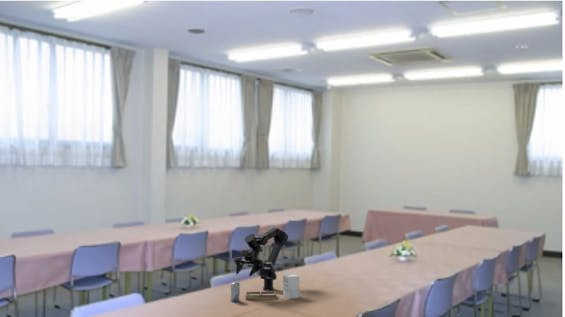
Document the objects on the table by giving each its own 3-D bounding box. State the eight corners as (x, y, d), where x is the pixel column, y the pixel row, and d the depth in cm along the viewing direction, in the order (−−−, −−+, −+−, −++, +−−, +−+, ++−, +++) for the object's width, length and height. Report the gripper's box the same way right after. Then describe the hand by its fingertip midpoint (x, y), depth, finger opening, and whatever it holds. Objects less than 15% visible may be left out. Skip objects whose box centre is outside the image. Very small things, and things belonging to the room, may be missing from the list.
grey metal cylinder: (230, 300, 288) (231, 282, 289) (239, 300, 289) (239, 282, 289) (230, 302, 284) (230, 283, 284) (239, 302, 284) (239, 283, 284)
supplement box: (293, 295, 300) (293, 273, 301) (299, 298, 294) (299, 275, 294) (282, 296, 297) (282, 274, 298) (288, 299, 290) (288, 277, 291)
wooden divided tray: (245, 296, 298) (245, 291, 298) (275, 295, 299) (275, 291, 299) (245, 299, 289) (245, 295, 289) (276, 299, 290) (276, 294, 290)
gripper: (235, 243, 303) (224, 264, 293) (262, 245, 294) (251, 267, 284) (242, 255, 309) (232, 276, 300) (269, 257, 300) (258, 279, 290)
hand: (243, 274), depth 293 cm, fingers open, 9 cm apart
